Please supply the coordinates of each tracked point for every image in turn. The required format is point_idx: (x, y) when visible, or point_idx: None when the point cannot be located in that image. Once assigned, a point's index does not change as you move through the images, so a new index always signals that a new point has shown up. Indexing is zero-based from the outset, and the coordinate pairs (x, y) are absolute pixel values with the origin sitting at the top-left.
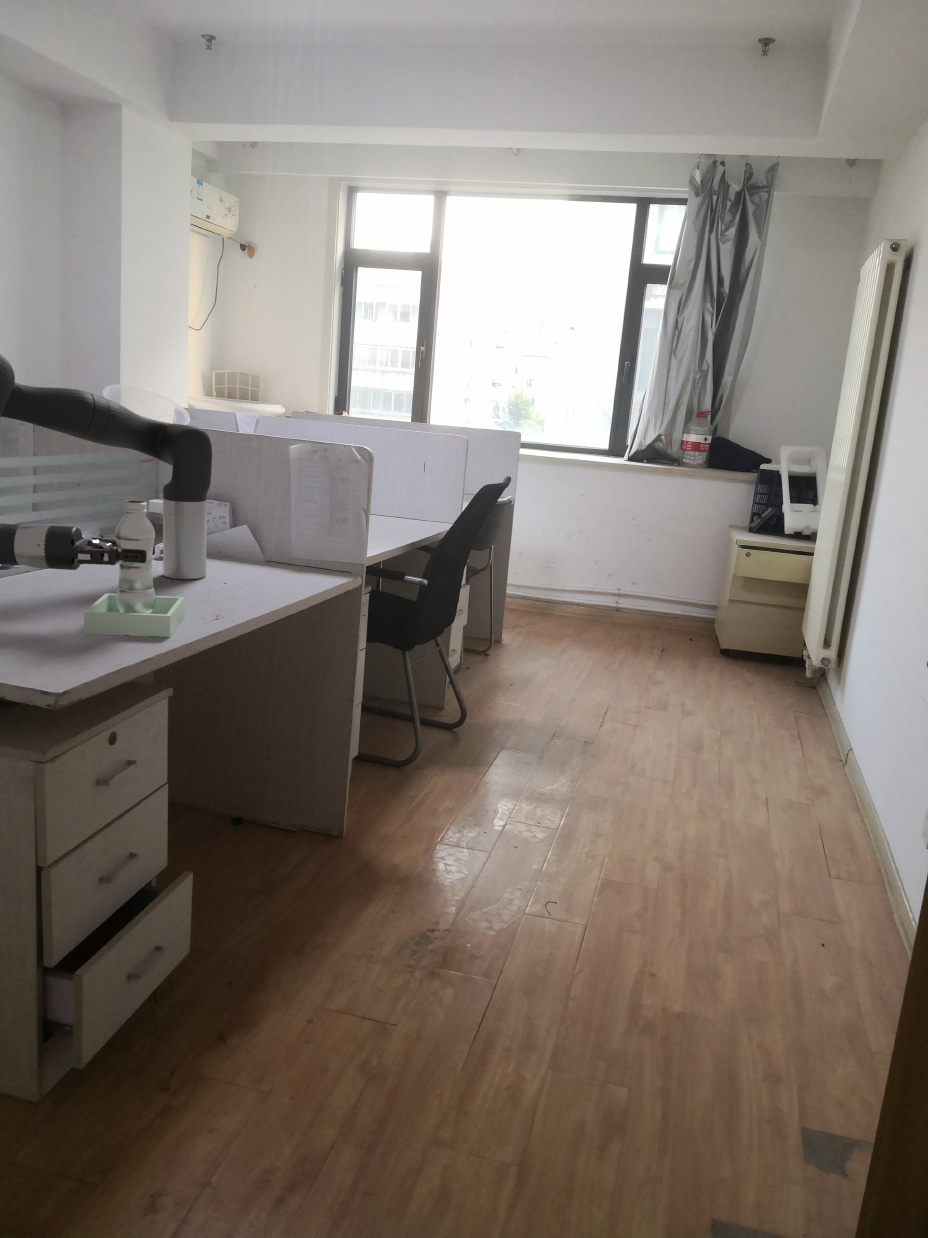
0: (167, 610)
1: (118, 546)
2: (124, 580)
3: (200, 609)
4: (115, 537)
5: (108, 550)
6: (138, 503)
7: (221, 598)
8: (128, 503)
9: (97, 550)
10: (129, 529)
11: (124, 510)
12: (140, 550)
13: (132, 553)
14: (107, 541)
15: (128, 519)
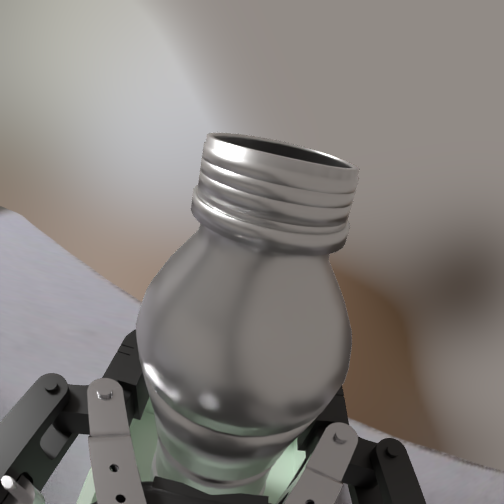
0: (131, 427)
1: (283, 446)
2: (263, 484)
3: (79, 369)
4: (4, 429)
5: (405, 462)
6: (340, 161)
7: (18, 322)
8: (356, 178)
9: (423, 501)
10: (350, 330)
11: (329, 242)
12: None
13: (341, 397)
14: (145, 499)
15: (334, 286)
